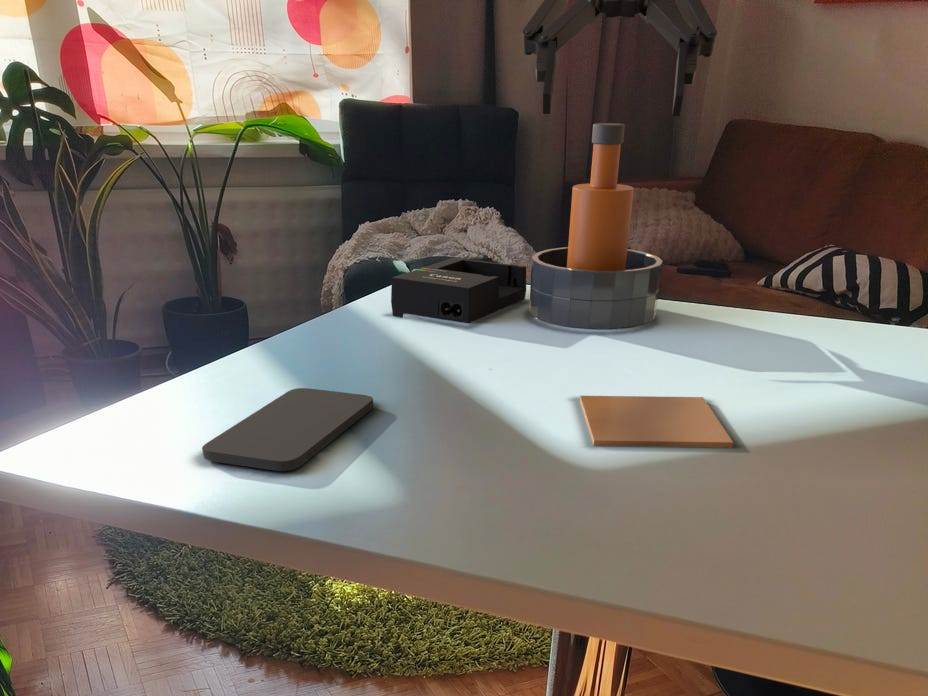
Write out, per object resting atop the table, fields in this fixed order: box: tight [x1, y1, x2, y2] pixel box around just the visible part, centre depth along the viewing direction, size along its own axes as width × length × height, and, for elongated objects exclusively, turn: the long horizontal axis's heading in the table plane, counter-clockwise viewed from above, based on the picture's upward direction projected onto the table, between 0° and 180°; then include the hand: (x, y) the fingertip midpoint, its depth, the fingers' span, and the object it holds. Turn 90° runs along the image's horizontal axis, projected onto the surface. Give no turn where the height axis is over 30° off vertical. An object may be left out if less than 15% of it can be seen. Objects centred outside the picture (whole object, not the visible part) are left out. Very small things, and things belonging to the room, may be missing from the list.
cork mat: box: [579, 395, 734, 449], centre depth 68 cm, size 10×10×1 cm
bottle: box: [567, 122, 635, 271], centre depth 90 cm, size 6×6×17 cm
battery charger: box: [390, 257, 527, 325], centre depth 97 cm, size 13×10×4 cm
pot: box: [528, 246, 664, 330], centre depth 93 cm, size 13×13×6 cm
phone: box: [201, 387, 374, 472], centre depth 66 cm, size 7×1×15 cm
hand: (611, 105), depth 93 cm, fingers open, 13 cm apart
